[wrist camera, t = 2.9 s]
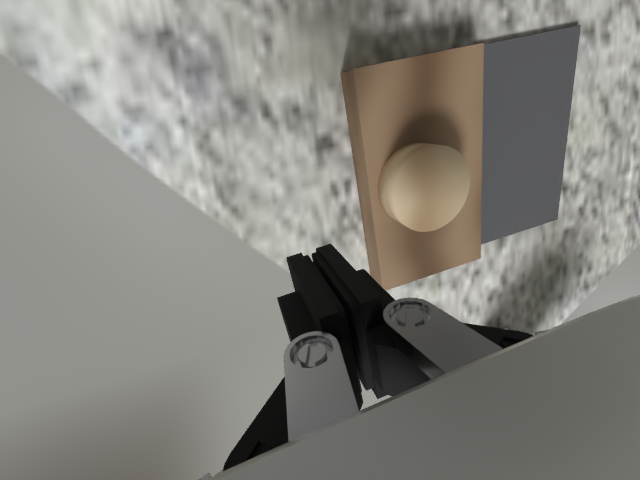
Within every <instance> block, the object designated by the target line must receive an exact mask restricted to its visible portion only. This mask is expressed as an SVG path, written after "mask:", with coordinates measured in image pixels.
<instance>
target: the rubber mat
mask: <svg viewBox="0 0 640 480" xmlns="http://www.w3.org/2000/svg"><path fill="white" fill-rule="evenodd" d="M580 26H581V25H579V26H574V27H569V28H564V29H559V30H554V31H549V32H544V33H539V34H534V35H529V36H524V37H519V38H514V39H509V40H504V41H499V42H494V43H489V44H484V67H483V133H482V199H481V244H484V243H487V242H490V241H493V240H496V239H499V238H502V237H505V236H508V235H511V234H514V233H517V232H520V231H523V230H526V229H529V228H532V227H535V226H539V225H542V224H545V223H548V222H551V221H554V220H557V218H558V210H559V201H560V193H561V185H562V176H563V168H564V160H565V151H566V143H567V135H568V126H569V118H570V110H571V101H572V93H573V85H574V76H575V68H576V60H577V51H578V43H579V35H580Z"/></svg>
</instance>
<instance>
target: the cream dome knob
mask: <svg viewBox="0 0 640 480" xmlns="http://www.w3.org/2000/svg"><path fill="white" fill-rule="evenodd" d="M469 188H470V172H469V168H468V165H467V163H466V160H465V159H464V157H463V156H462V155H461V154H460V153H459V152H458V151H457V150H455V149H453V148H451V147H449V146H444V145H437V144H429V143H411V144H408V145H405V146H403V147H401V148H400V149H398V150H397V151H395V152H394V153H393V154H392V155H391V156H390V157H389V158H388V160H387V161H386V163H385V164H384V166H383V168H382V170H381V172H380V175H379V179H378V186H377V192H378V199H379V202H380V205H381V207H382V208H383V210H384V211H385V212H386V213H387V215H389V216H390V217H391V218H393V219H394V220H396V221H398V222H399V223H401V224H403V225H404V226H406V227H408V228H410V229H412V230H414V231H419V232H429V231H434V230H437V229H439V228H441V227H443V226H445V225H446V224H448V223H449V222H450V221H451V220H453V219H454V217H455V216H456V215H457V214H458V213H459V212H460V210H461V209H462V207H463V205H464V203H465V201H466V199H467V196H468V193H469Z"/></svg>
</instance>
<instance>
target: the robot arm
mask: <svg viewBox="0 0 640 480" xmlns="http://www.w3.org/2000/svg"><path fill="white" fill-rule="evenodd" d="M312 259H313V262H312V260H311V259H310V257H309V256H308V255H306V256H303V255H302V253H299V254H296V255H293V256H290V257H287V262H288V266H289V270H290V274H291V277H292V281H293V285H294V288H295V292H293V293H290V294H287V295H284V296H281V297H278V298H277V299H278V302H279V306H280V309H281V313H282V316H283V319H284V323H285V326H286V329H287V332H288V335H289V339H290V342H291V343H290V344H289V345H288V346H287V348H286V350H285V353H284V371H285V372H284V373H285V377H284V378H283V379H282V381H281V382H280V384H279V385H278V387H277V388H276V390H275V391H274V392H273V394H272V395H271V397H270V398H269V399H268V401H267V402H266V404H265V405H264V406H263V408H262V409H261V411H260V412H259V413H258V415H257V416H256V418H255V419H254V421H253V422H252V424H251V425H250V426H249V428H248V429H247V431H246V432H245V434H244V435H243V436H242V438H241V439H240V440H239V442H238V443H237V445H236V446H235V448H234V449H233V450H232V452H231V453H230V455H229V457H228V459H227V461H226V462H225V465H224V469H223V470H221V471H220V472H219V473H217V474H216V475H214V476H213V477H211V475H210V473H208V474H206V475H204V476H203V477H201V478H200V479H198V480H640V295H639V296H635V297H631V298H628V299H626V300H623V301H620V302H618V303H615V304H612V305H610V306H607V307H604V308H601V309H599V310H596V311H594V312H591V313H588V314H586V315H583V316H581V317H579V318H576V319H574V320H571V321H569V322H567V323H564V324H562V325H559V326H557V327H554V328H552V329H549V330H545V331H539V332H535V336H533V335H531V334H528V333H524V332H519V331H513V330H507V329H500V328H493V327H486V326H480V325H473V324H466V323H462V322H460V321H458V320H457V319H455V318H454V317H452V316H450V315H449V314H447V313H446V312H444V311H443V310H441V309H439V308H438V307H436V306H435V305H433V304H431V303H430V302H428V301H425V300H423V299H418V298H402V299H398V300H396V301H395V300H394V299H393V298H392V297H391V296H390V295H389V294H388V293H387V292H386V291H385V290H384V289H383V288H382V287H381V286H380V285H379V284H378V283H377V282H376V281H375V280H374V279H373V278H372V277H371V276H370V275H369V274H368V273H367V272H366V271H365V270H364V269H361V270H358V271H356V270H355V269H354V268H353V267H352V266H351V265H350V264H349V263H348V262H347V261H346V259H345V258H344V257H343V256H342V255H341V254H340V253H339V252H338V251H337V250H336V249H335V248H334V247H333V246H332V245H331V244H328V245H325V246H322V247H318V248H316V253H312ZM360 381H361V382H362V384H363V386H364V388H365V389H366V390H369V389H371V388H372V390H373V392H374V394H375V395H376V397H377V399H379V398H381V397H383V396H386V395H390V396H393V397H390V398H388V399H386V400H384V401H381V402H379V403H377V404H374V405H372V406H370V407H368V408H365V409H363V410H361V411H360V409H361V407H362V404H363V399H362V395H361V392H362V390H361V384H360Z"/></svg>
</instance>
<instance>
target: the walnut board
mask: <svg viewBox="0 0 640 480" xmlns="http://www.w3.org/2000/svg"><path fill="white" fill-rule="evenodd" d="M483 67H484V43H480V44H475V45H470V46H465V47H460V48H454V49H449V50H444V51H439V52H434V53H429V54H424V55H419V56H414V57H409V58H404V59H399V60H394V61H389V62H384V63H379V64H374V65H369V66H364V67H359V68H354V69H351V70H349V71H346V72H343V73H341V80H342V86H343V93H344V100H345V107H346V113H347V120H348V127H349V133H350V140H351V147H352V154H353V160H354V167H355V174H356V181H357V187H358V194H359V201H360V207H361V214H362V221H363V228H364V234H365V241H366V248H367V255H368V261H369V268H370V275H371V277H372V278H373V279H374V280H375V281H376V282H377V283H378V284H379V285H380V286H381V287H382V288H383V289H384V290H388V289H391V288H394V287H397V286H400V285H403V284H406V283H409V282H412V281H415V280H418V279H421V278H424V277H427V276H430V275H433V274H436V273H439V272H441V271H444V270H447V269H450V268H453V267H456V266H459V265H462V264H465V263H468V262H471V261H474V260H477V259H480V258H481V199H482V133H483ZM411 143H429V144H437V145H444V146H449V147H451V148H453V149H455V150H457V151H458V152H459V153H460V154H461V155H462V156H463V157H464V159H465V160H466V163H467V165H468V168H469V172H470V188H469V193H468V196H467V199H466V201H465V203H464V205H463V207H462V209H461V210H460V212H459V213H458V214H457V215H456V216H455V217H454V219H453V220H451V221H450V222H449V223H448V224H446V225H445V226H443V227H441V228H439V229H437V230H434V231H429V232H419V231H414V230H412V229H410V228H408V227H406V226H404V225H403V224H401V223H399V222H398V221H396V220H394V219H393V218H391V217H390V216H389V215H387V213H386V212H385V211H384V210H383V208H382V207H381V205H380V202H379V199H378V192H377V186H378V179H379V175H380V172H381V170H382V168H383V166H384V164H385V163H386V161H387V160H388V158H389V157H390V156H391V155H392V154H393V153H394V152H395V151H397V150H398V149H400V148H401V147H403V146H405V145H408V144H411Z"/></svg>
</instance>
